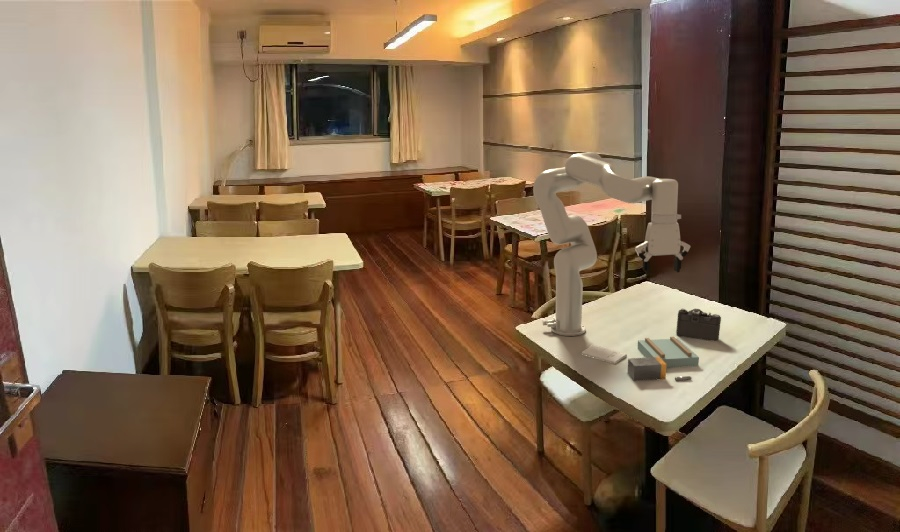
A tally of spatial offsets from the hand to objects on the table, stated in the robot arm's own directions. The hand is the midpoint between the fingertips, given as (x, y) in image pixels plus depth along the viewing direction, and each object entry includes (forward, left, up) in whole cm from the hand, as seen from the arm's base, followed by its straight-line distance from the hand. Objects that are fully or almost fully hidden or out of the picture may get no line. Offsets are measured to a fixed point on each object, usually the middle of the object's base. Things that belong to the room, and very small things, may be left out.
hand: (661, 272), depth 203 cm
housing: (-8, -13, -30) cm, 33 cm away
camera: (+23, +18, -30) cm, 42 cm away
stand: (+4, 0, -30) cm, 30 cm away
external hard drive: (-16, +4, -31) cm, 35 cm away
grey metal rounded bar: (+2, -17, -30) cm, 34 cm away
